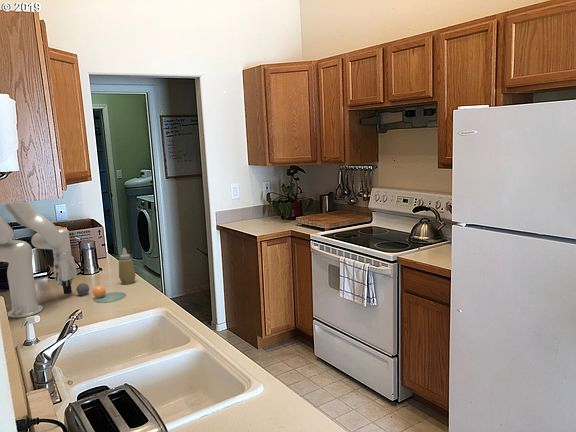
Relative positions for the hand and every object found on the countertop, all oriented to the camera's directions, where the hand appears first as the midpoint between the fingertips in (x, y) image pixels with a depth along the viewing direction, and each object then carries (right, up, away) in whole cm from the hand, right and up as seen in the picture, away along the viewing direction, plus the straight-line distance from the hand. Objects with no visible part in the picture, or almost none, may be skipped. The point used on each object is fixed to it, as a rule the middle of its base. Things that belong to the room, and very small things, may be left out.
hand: (67, 293), depth 221 cm
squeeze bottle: (+22, +2, +17) cm, 28 cm away
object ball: (+16, +1, -4) cm, 17 cm away
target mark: (+21, -1, -5) cm, 22 cm away
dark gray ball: (+6, +2, +1) cm, 7 cm away
